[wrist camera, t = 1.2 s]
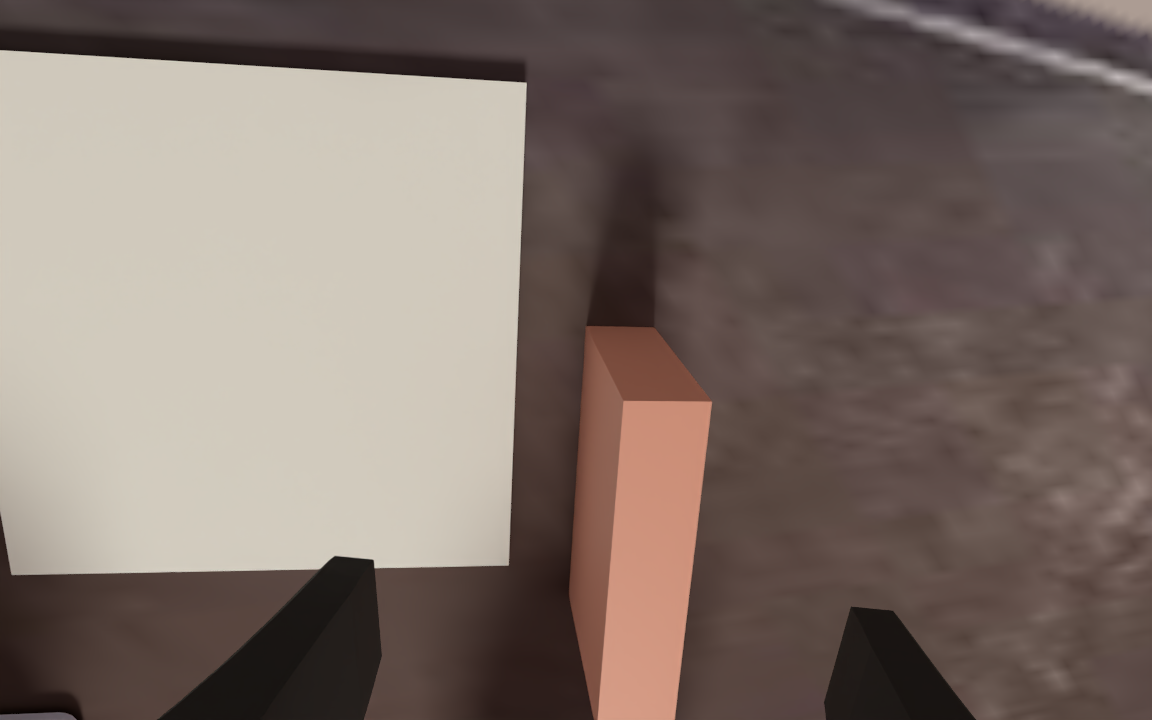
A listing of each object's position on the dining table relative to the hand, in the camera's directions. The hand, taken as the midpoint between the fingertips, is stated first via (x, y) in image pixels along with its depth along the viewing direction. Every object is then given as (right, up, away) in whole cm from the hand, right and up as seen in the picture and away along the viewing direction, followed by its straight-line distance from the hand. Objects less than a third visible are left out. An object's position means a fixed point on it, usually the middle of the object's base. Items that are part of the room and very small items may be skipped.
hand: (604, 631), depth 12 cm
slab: (+1, +1, +13) cm, 13 cm away
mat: (-9, +5, +10) cm, 14 cm away
